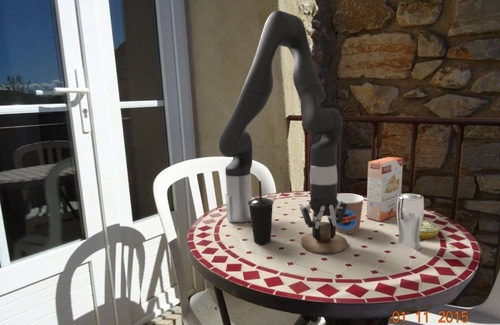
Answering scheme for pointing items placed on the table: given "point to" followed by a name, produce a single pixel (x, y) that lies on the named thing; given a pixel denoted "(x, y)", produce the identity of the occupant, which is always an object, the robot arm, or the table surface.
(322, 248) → the walnut lid
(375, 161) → the cracker box
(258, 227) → the drinking cup
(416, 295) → the table surface
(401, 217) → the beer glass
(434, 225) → the decorated donut
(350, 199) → the coffee cup
